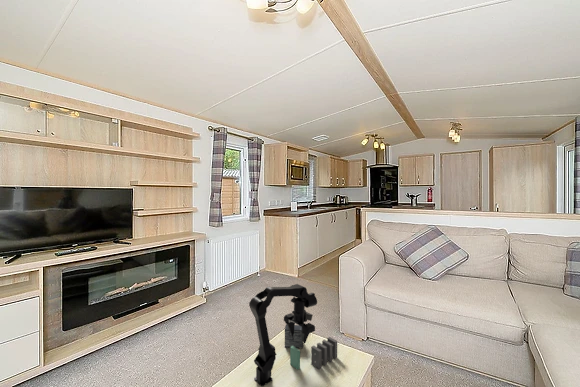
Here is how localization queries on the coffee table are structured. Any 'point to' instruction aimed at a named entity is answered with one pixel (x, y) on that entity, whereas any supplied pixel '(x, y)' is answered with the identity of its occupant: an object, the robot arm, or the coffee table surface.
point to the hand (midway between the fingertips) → (298, 339)
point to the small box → (294, 337)
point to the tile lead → (295, 357)
